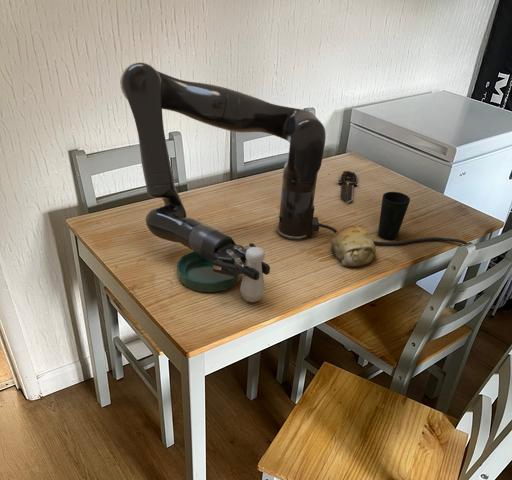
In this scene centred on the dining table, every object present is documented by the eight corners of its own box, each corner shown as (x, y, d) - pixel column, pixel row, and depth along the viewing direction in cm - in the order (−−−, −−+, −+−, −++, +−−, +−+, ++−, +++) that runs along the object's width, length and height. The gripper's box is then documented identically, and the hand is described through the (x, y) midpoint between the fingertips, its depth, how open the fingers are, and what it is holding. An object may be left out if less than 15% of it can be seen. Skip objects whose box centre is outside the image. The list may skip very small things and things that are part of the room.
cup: (384, 226, 163) (393, 189, 155) (405, 236, 159) (415, 198, 151) (369, 234, 159) (377, 196, 151) (390, 244, 155) (400, 206, 147)
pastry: (340, 238, 156) (345, 213, 150) (381, 251, 151) (387, 225, 146) (320, 259, 146) (324, 232, 141) (363, 273, 142) (368, 246, 136)
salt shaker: (261, 306, 126) (265, 258, 118) (237, 302, 127) (240, 254, 118) (265, 292, 131) (270, 245, 122) (242, 288, 131) (245, 241, 123)
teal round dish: (240, 259, 143) (240, 249, 141) (241, 294, 131) (242, 283, 129) (179, 258, 142) (179, 248, 140) (175, 292, 130) (175, 282, 128)
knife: (351, 205, 173) (351, 201, 172) (331, 202, 174) (331, 198, 173) (359, 176, 192) (360, 172, 191) (341, 173, 193) (342, 169, 192)
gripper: (189, 240, 124) (243, 270, 115) (231, 221, 132) (285, 248, 124) (189, 267, 129) (241, 299, 120) (230, 248, 137) (281, 276, 129)
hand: (263, 273), depth 122 cm, fingers closed on salt shaker, 3 cm apart
